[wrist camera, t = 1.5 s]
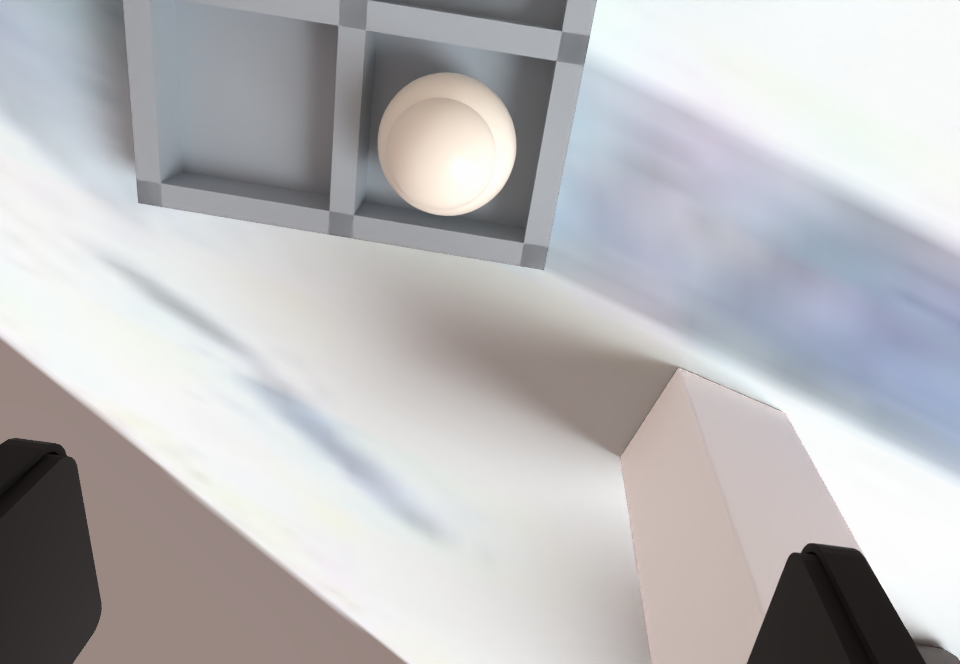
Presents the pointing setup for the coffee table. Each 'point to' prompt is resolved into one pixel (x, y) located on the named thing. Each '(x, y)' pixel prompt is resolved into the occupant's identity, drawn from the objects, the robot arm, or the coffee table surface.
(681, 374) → the milk
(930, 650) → the liquor
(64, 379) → the coffee table surface
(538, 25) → the carton
